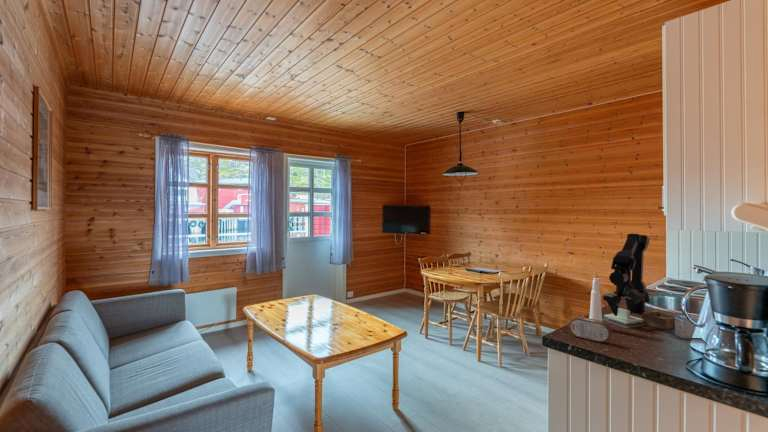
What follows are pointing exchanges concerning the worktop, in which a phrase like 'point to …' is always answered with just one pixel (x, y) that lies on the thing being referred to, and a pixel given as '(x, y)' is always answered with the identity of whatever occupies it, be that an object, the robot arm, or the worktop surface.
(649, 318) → the crate
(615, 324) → the mat
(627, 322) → the lid
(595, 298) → the cosmetic bottle
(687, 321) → the medicine box
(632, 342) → the worktop surface
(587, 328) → the tin
